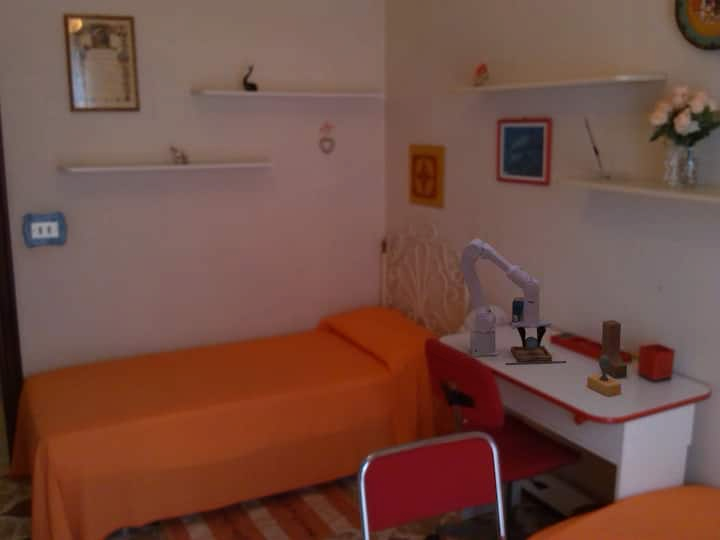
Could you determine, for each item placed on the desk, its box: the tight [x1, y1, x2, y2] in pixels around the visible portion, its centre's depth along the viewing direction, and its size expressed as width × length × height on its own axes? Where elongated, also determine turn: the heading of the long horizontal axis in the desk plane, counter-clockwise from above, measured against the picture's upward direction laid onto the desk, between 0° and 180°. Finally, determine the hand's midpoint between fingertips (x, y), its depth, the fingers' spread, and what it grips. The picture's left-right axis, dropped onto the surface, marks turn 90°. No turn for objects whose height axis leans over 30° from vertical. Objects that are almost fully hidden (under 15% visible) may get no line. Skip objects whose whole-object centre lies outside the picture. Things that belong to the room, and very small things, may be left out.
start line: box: [505, 360, 567, 366], centre depth 258 cm, size 22×1×1 cm, turn 89°
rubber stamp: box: [586, 355, 622, 397], centre depth 230 cm, size 10×6×12 cm, turn 22°
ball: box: [525, 336, 538, 350], centre depth 264 cm, size 5×5×5 cm
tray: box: [510, 345, 553, 363], centre depth 265 cm, size 13×13×2 cm
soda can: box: [511, 296, 524, 323], centre depth 301 cm, size 7×7×12 cm
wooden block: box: [601, 319, 628, 379], centre depth 243 cm, size 9×4×18 cm, turn 13°
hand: (531, 346), depth 265 cm, fingers closed on ball, 5 cm apart
